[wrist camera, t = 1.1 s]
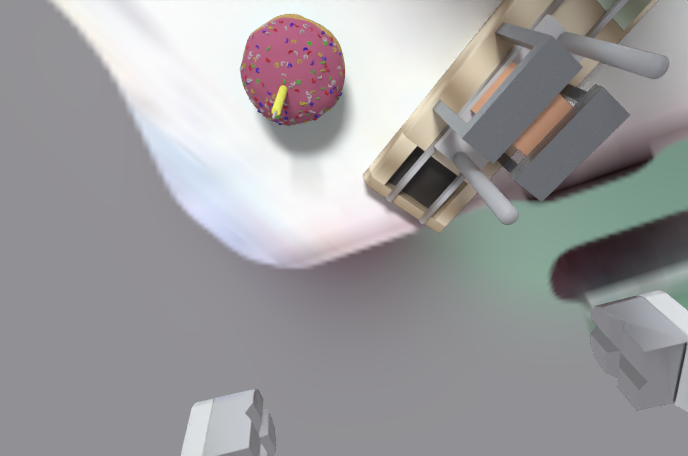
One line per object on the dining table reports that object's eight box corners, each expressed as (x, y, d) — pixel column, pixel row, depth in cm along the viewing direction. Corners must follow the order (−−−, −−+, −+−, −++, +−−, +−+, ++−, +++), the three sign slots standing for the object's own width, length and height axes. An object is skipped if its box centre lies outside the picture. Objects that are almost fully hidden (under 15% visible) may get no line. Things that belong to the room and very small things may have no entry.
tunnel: (503, 22, 39) (552, 35, 31) (571, 88, 42) (630, 115, 35) (432, 108, 42) (461, 138, 35) (501, 163, 45) (541, 202, 38)
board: (601, -121, 36) (626, -128, 34) (668, -34, 40) (695, -34, 37) (362, 174, 47) (367, 187, 45) (432, 222, 51) (440, 236, 48)
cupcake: (299, 127, 44) (300, 177, 34) (225, 67, 41) (202, 102, 30) (359, 57, 41) (381, 88, 31) (285, -14, 38) (283, -6, 28)
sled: (547, 13, 38) (645, 31, 27) (584, 50, 40) (688, 82, 29) (433, 146, 43) (478, 206, 32) (470, 174, 45) (524, 239, 34)
